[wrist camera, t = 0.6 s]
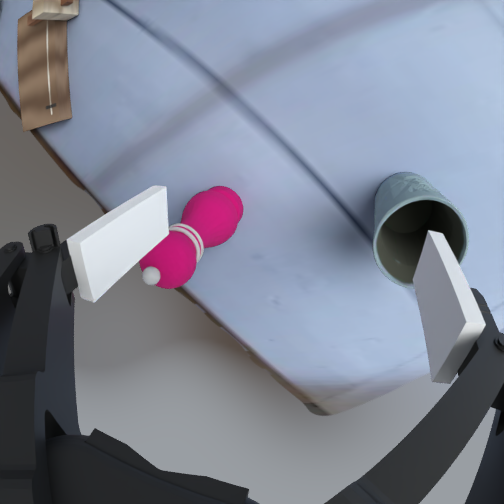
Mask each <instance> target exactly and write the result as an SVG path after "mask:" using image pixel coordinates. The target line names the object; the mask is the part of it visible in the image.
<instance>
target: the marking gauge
mask: <svg viewBox="0 0 504 504" xmlns="http://www.w3.org/2000/svg"><path fill="white" fill-rule="evenodd" d="M78 10H79V0H33V10H32V14H30V15H29V16H28V20H27V26H34V25H35V24H37V23H39V22H40V21H42V20H65V21H67V20H69V19H71V18H73V17H75V16H77V15H78Z"/></svg>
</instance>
